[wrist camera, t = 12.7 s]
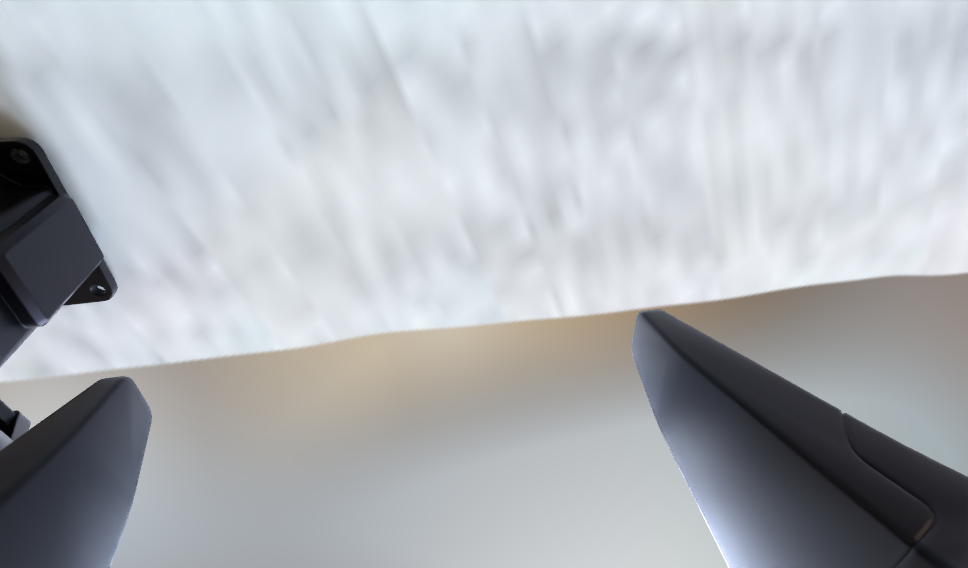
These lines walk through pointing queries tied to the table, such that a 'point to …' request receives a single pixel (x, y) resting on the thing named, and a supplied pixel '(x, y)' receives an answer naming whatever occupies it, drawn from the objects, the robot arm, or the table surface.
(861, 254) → the table surface
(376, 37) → the table surface
